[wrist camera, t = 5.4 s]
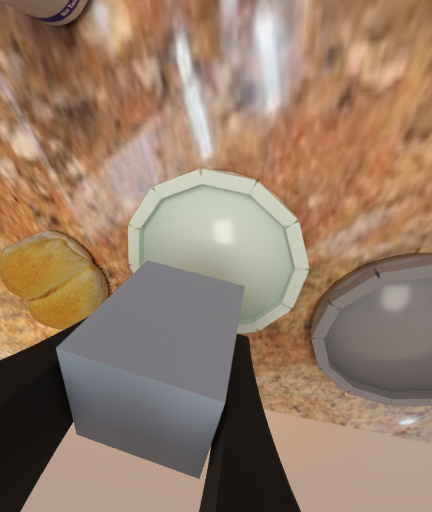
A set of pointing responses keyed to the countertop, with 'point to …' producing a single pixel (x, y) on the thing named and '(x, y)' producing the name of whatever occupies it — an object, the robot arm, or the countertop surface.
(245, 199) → the celadon dish
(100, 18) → the countertop surface
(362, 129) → the countertop surface
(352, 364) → the charcoal dish
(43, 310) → the bread roll
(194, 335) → the block
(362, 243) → the countertop surface
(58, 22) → the energy drink
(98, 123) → the countertop surface
